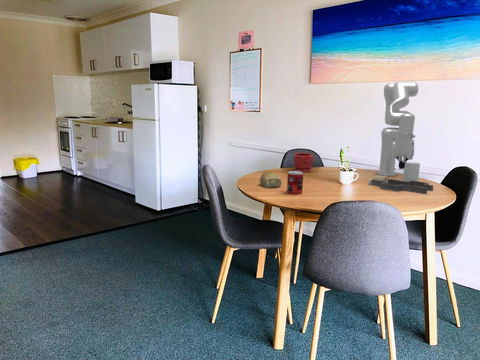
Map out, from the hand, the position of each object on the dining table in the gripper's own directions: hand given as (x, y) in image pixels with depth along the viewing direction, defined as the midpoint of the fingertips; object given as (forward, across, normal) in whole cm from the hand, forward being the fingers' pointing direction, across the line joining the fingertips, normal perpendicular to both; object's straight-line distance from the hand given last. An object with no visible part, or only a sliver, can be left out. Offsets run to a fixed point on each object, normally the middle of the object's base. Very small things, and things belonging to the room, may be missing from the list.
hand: (401, 168), depth 211 cm
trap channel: (+11, -1, +1) cm, 11 cm away
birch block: (+11, +10, +1) cm, 15 cm away
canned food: (+10, +33, +56) cm, 66 cm away
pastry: (+11, +53, +52) cm, 75 cm away
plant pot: (+12, +67, -2) cm, 68 cm away
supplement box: (+12, 0, -18) cm, 21 cm away
